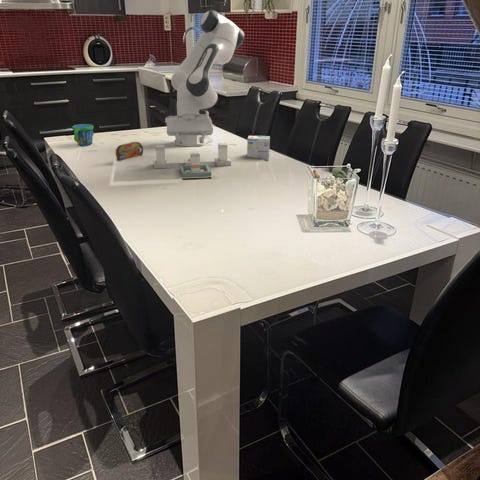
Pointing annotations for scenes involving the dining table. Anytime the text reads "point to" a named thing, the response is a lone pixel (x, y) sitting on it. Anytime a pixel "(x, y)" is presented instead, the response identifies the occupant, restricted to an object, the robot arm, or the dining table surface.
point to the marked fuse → (195, 161)
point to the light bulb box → (258, 147)
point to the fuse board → (188, 162)
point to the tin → (129, 150)
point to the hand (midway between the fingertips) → (191, 142)
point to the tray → (190, 174)
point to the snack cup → (83, 134)
